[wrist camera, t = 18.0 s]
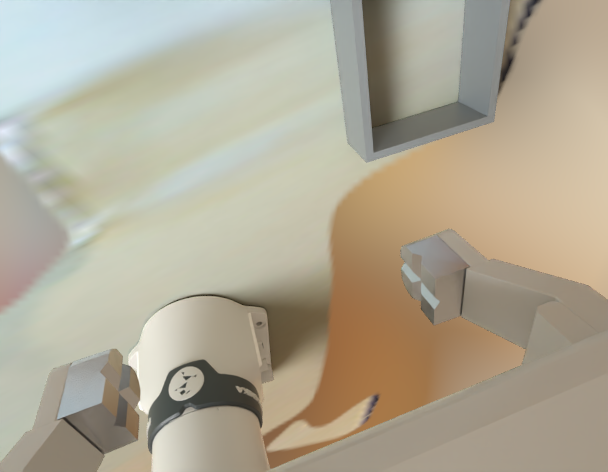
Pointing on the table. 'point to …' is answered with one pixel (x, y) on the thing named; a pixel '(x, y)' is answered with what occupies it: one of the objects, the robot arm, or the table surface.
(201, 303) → the robot arm
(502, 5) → the parts bin
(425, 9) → the table surface
